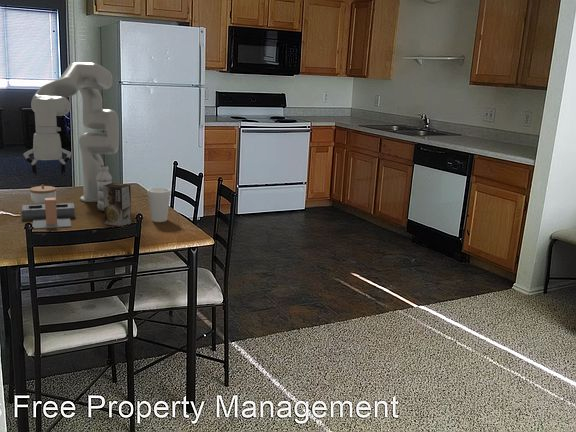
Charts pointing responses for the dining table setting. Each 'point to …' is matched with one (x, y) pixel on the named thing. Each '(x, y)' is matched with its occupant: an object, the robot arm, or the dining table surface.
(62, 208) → the socket plate
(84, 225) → the dining table surface
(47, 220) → the plug
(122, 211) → the coffee box
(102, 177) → the plastic bottle
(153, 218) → the foam cup
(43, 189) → the lidded jar
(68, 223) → the mat
